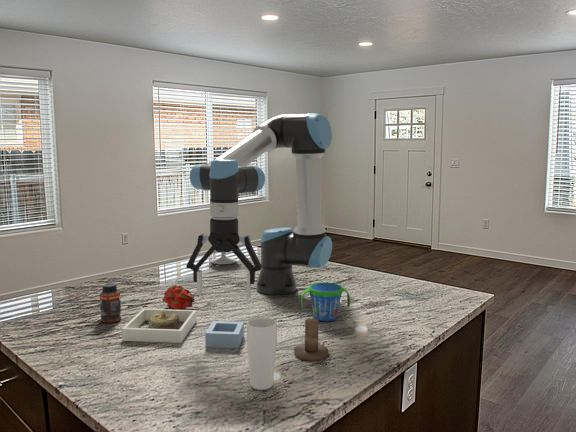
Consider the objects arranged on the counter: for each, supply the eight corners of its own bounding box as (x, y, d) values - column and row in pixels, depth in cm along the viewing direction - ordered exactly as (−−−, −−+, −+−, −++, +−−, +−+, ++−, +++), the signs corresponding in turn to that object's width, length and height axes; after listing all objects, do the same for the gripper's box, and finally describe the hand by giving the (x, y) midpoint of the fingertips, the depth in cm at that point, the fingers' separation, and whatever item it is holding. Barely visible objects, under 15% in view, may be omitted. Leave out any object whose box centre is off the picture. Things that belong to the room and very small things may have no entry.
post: (295, 345, 133) (295, 314, 132) (328, 347, 133) (328, 315, 131) (293, 360, 124) (293, 326, 123) (328, 361, 124) (329, 327, 122)
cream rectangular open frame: (143, 319, 152) (143, 308, 151) (196, 321, 151) (196, 310, 150) (122, 340, 135) (121, 328, 135) (181, 342, 134) (181, 330, 134)
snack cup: (300, 323, 150) (301, 291, 148) (300, 311, 160) (300, 281, 159) (351, 324, 150) (352, 292, 148) (348, 312, 160) (348, 282, 159)
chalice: (203, 264, 220) (203, 232, 218) (213, 257, 234) (213, 226, 232) (234, 266, 218) (233, 233, 216) (242, 259, 232) (242, 228, 229)
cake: (176, 336, 141) (175, 319, 140) (142, 336, 141) (141, 319, 140) (184, 321, 150) (183, 305, 149) (152, 321, 151) (151, 305, 149)
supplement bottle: (125, 318, 153) (124, 282, 151) (113, 324, 147) (111, 288, 146) (109, 315, 155) (108, 281, 153) (96, 322, 149) (95, 286, 148)
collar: (212, 334, 141) (212, 321, 140) (243, 335, 140) (243, 322, 139) (205, 347, 132) (205, 333, 131) (238, 348, 131) (238, 334, 131)
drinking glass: (246, 378, 114) (246, 317, 112) (275, 377, 115) (276, 316, 113) (246, 393, 108) (246, 328, 106) (277, 392, 108) (278, 327, 106)
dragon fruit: (165, 309, 166) (193, 320, 161) (152, 301, 159) (180, 312, 153) (177, 286, 169) (204, 297, 163) (164, 277, 162) (193, 288, 156)
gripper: (174, 218, 128) (175, 297, 131) (269, 220, 126) (268, 300, 129) (182, 214, 135) (183, 289, 138) (271, 216, 134) (271, 292, 137)
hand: (224, 294), depth 134 cm, fingers open, 13 cm apart
